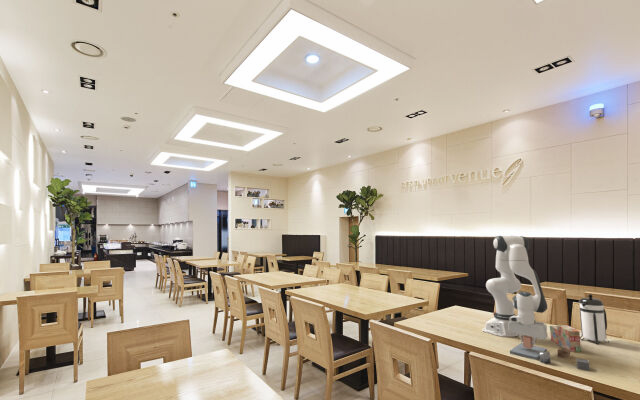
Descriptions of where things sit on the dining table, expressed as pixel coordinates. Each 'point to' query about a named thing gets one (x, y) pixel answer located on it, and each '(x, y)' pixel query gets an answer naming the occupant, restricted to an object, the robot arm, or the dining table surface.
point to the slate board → (527, 351)
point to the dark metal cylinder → (544, 357)
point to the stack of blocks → (566, 337)
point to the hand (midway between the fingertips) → (528, 343)
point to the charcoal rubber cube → (583, 364)
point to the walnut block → (563, 353)
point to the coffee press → (593, 319)
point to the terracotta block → (527, 342)
